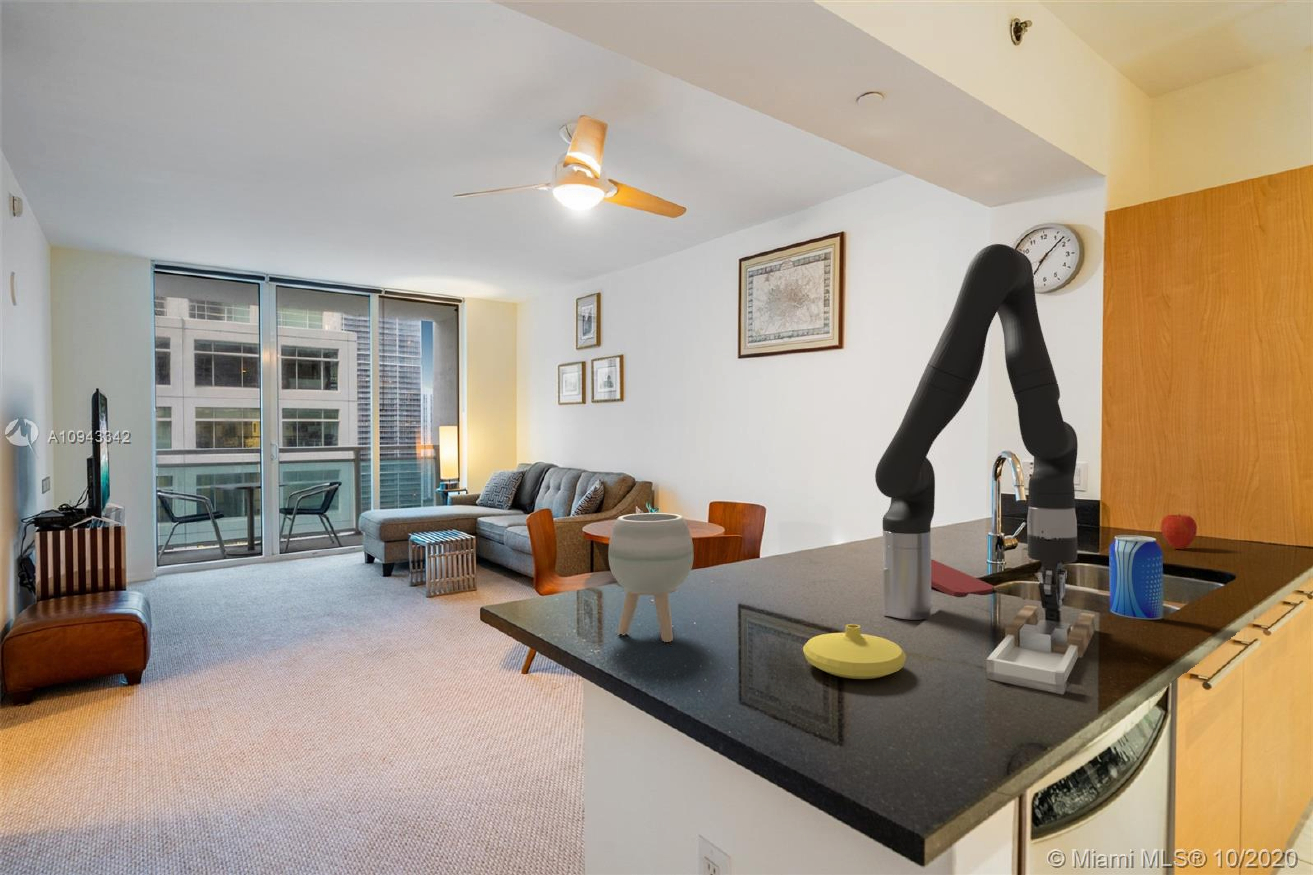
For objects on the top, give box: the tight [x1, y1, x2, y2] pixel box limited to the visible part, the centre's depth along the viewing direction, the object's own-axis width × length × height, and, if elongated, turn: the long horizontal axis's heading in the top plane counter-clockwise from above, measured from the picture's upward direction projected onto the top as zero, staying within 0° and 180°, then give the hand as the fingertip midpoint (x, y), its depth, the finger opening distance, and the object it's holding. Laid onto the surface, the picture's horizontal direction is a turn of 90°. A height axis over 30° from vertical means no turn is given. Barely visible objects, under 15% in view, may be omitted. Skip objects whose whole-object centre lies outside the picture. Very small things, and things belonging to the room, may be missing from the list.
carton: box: [931, 558, 995, 597], centre depth 161 cm, size 12×5×25 cm
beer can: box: [1108, 534, 1164, 620], centre depth 128 cm, size 8×8×16 cm
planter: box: [607, 512, 694, 643], centre depth 124 cm, size 16×16×22 cm
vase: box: [802, 623, 907, 680], centre depth 105 cm, size 16×16×7 cm
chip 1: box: [1020, 624, 1055, 653], centre depth 110 cm, size 4×4×3 cm
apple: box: [1160, 513, 1198, 550], centre depth 197 cm, size 9×8×11 cm
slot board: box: [1004, 605, 1096, 659], centre depth 115 cm, size 18×11×4 cm, turn 141°
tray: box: [986, 634, 1079, 695], centre depth 102 cm, size 15×10×3 cm, turn 141°
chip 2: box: [1036, 619, 1072, 648], centre depth 112 cm, size 4×4×3 cm
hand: (1053, 630), depth 116 cm, fingers closed
